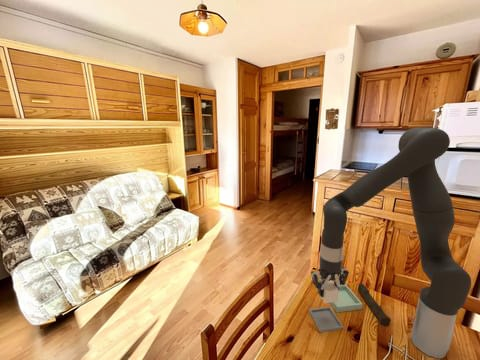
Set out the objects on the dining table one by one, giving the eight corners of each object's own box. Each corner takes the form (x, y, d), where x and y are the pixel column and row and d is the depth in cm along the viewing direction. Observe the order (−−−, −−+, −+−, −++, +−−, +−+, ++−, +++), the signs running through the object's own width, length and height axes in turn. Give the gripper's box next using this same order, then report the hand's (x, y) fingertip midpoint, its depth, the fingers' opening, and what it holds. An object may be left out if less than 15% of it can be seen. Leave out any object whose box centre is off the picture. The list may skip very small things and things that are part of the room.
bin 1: (329, 309, 88) (330, 306, 87) (343, 329, 79) (343, 326, 78) (308, 312, 86) (309, 309, 86) (319, 333, 78) (320, 330, 77)
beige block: (330, 291, 82) (331, 280, 81) (337, 301, 78) (338, 290, 76) (318, 293, 82) (319, 282, 81) (325, 303, 77) (326, 291, 76)
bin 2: (345, 289, 98) (346, 284, 97) (361, 309, 87) (362, 304, 86) (322, 292, 96) (323, 287, 96) (336, 313, 86) (337, 307, 85)
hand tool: (390, 326, 80) (392, 316, 79) (379, 326, 80) (381, 316, 79) (364, 289, 98) (365, 281, 97) (355, 289, 98) (356, 281, 97)
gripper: (317, 263, 71) (315, 305, 75) (356, 259, 73) (352, 299, 77) (307, 251, 78) (305, 289, 82) (343, 247, 80) (339, 285, 84)
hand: (328, 294), depth 79 cm, fingers closed on beige block, 5 cm apart
